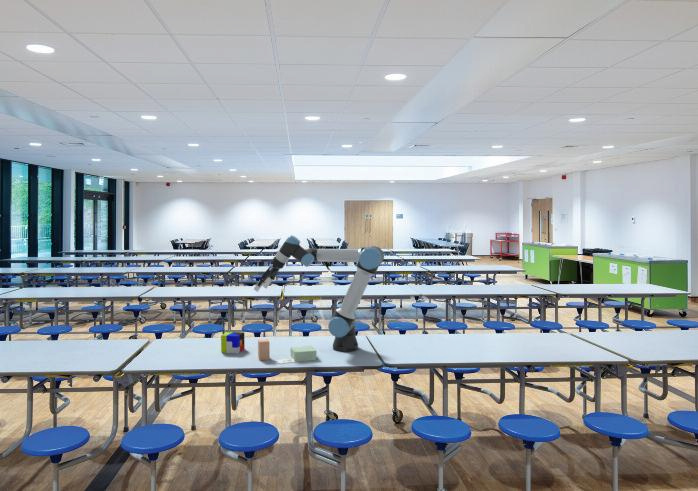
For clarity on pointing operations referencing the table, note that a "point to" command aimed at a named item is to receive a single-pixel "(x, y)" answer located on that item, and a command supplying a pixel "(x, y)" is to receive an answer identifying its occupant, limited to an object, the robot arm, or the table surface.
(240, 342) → the puzzle toy
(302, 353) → the base block
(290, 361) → the page
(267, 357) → the brick
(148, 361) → the table surface
